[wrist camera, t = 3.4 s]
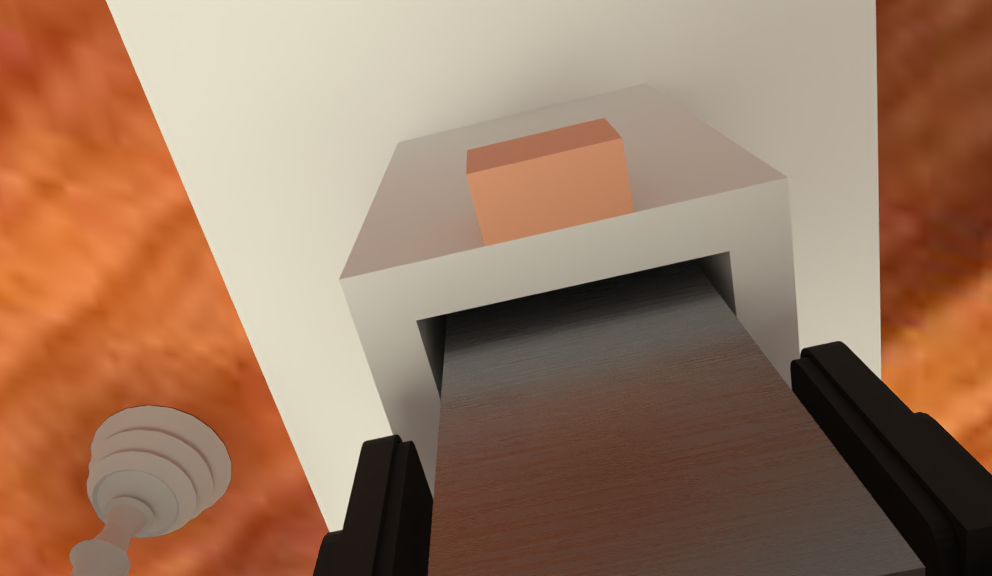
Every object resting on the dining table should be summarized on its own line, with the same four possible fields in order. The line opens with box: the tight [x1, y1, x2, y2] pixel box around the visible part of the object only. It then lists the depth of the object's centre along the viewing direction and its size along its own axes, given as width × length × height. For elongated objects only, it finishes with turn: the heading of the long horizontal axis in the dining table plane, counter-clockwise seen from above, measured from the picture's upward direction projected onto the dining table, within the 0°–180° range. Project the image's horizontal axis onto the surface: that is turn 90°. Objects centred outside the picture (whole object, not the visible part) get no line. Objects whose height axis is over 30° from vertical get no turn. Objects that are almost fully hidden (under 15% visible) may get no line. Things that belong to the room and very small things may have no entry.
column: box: [428, 259, 925, 576], centre depth 14 cm, size 4×4×16 cm
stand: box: [106, 0, 881, 532], centre depth 18 cm, size 20×20×12 cm
